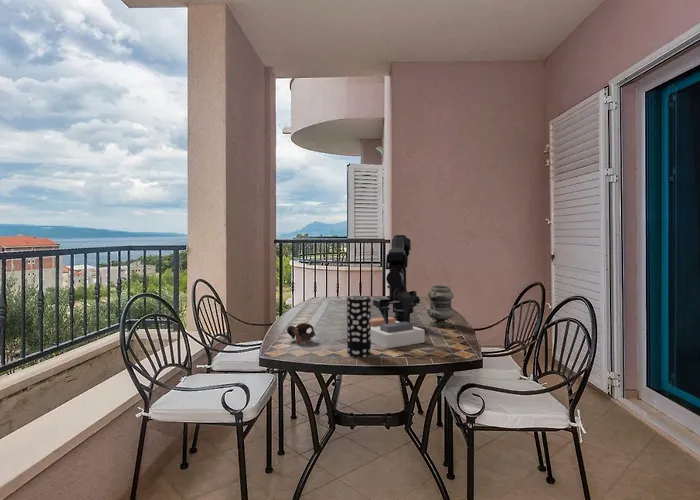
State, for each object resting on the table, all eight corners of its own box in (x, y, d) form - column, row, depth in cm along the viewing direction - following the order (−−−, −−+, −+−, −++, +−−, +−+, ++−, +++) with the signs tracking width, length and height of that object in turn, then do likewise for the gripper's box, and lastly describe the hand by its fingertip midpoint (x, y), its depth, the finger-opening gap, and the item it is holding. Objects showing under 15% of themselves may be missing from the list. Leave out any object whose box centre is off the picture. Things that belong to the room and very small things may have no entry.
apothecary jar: (433, 328, 191) (433, 288, 190) (423, 322, 203) (423, 285, 202) (458, 327, 193) (458, 287, 193) (447, 321, 205) (447, 284, 204)
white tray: (390, 330, 188) (390, 318, 188) (424, 342, 167) (424, 329, 167) (354, 334, 180) (354, 323, 180) (385, 348, 159) (385, 335, 159)
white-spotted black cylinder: (354, 358, 147) (353, 300, 146) (343, 352, 154) (343, 297, 153) (375, 355, 150) (374, 298, 150) (363, 349, 158) (363, 295, 157)
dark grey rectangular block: (405, 331, 173) (405, 321, 173) (412, 333, 169) (412, 323, 169) (380, 334, 168) (380, 324, 167) (387, 337, 163) (387, 327, 163)
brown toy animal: (317, 339, 175) (319, 324, 171) (309, 355, 167) (310, 339, 163) (289, 331, 177) (291, 316, 173) (280, 346, 169) (281, 330, 165)
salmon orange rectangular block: (389, 325, 184) (389, 316, 184) (395, 328, 179) (395, 318, 179) (365, 328, 178) (364, 319, 178) (371, 331, 174) (371, 321, 174)
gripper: (387, 287, 156) (388, 329, 157) (428, 284, 165) (428, 324, 165) (372, 284, 166) (372, 323, 166) (411, 281, 174) (411, 318, 175)
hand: (396, 322), depth 168 cm, fingers open, 9 cm apart
